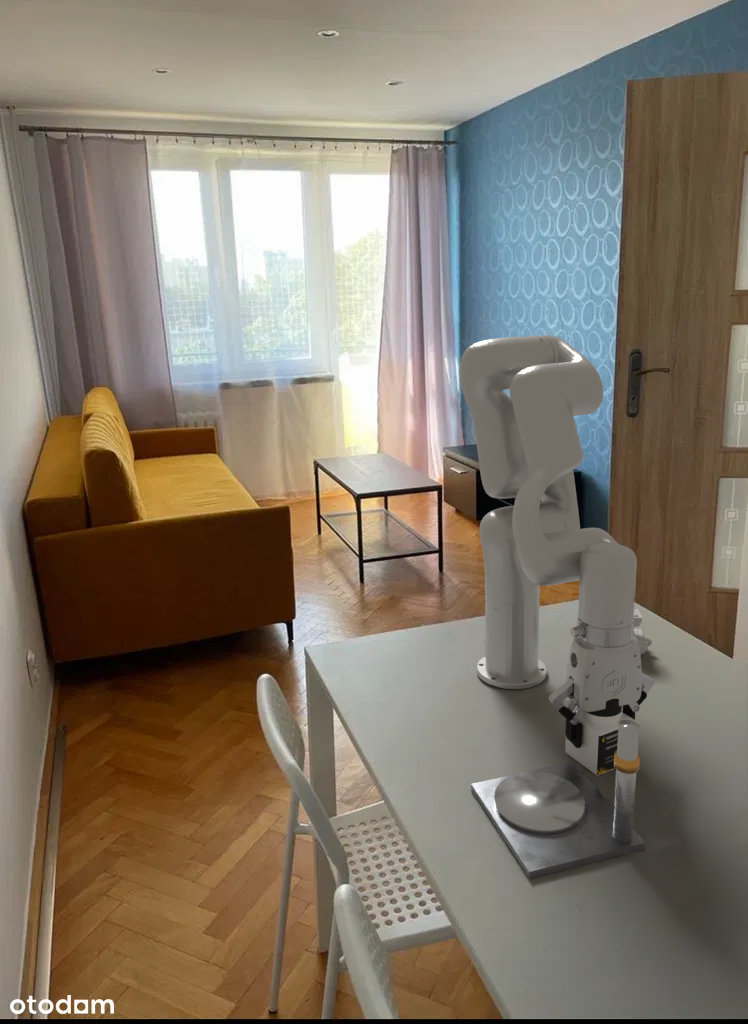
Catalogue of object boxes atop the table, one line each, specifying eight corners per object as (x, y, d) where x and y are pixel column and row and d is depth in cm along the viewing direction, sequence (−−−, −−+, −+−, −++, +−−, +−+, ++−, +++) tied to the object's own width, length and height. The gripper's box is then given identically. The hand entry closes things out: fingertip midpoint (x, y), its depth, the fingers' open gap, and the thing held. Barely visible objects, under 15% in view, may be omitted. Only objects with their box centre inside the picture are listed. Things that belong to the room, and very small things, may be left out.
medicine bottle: (597, 777, 112) (600, 703, 109) (564, 752, 118) (566, 682, 115) (634, 762, 115) (638, 690, 112) (599, 738, 121) (603, 669, 118)
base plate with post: (471, 789, 110) (470, 682, 106) (572, 767, 114) (576, 663, 110) (528, 878, 94) (531, 756, 89) (644, 849, 98) (653, 730, 93)
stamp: (648, 645, 151) (651, 605, 148) (654, 661, 144) (657, 619, 142) (600, 643, 152) (602, 603, 150) (604, 659, 146) (606, 618, 144)
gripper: (563, 651, 105) (559, 763, 110) (674, 631, 109) (666, 740, 114) (537, 628, 112) (534, 735, 117) (642, 610, 116) (636, 714, 121)
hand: (599, 736), depth 116 cm, fingers closed on medicine bottle, 8 cm apart
